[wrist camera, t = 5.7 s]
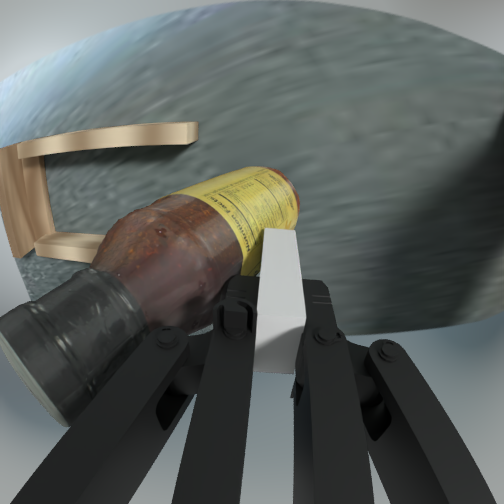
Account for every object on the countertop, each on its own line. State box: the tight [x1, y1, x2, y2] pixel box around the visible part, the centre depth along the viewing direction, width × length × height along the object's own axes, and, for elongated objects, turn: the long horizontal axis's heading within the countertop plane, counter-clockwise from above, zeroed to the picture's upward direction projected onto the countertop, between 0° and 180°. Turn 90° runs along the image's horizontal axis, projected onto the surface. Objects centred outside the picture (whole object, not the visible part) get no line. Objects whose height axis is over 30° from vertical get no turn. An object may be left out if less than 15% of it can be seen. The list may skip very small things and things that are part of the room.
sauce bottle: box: [0, 166, 300, 427], centre depth 14 cm, size 7×6×20 cm
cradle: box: [0, 122, 198, 263], centre depth 23 cm, size 22×12×4 cm, turn 87°
